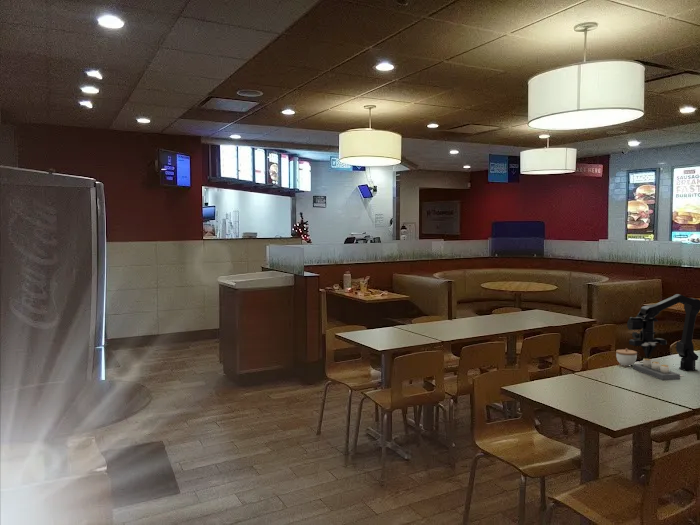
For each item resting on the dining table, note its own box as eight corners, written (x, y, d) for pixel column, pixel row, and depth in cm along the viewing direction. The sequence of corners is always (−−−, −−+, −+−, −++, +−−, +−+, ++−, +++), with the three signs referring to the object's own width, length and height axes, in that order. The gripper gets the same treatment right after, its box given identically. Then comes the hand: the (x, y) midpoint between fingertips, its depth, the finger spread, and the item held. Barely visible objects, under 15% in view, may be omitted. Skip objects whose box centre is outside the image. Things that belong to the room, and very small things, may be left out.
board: (649, 367, 311) (649, 363, 310) (679, 379, 287) (680, 374, 287) (632, 368, 309) (632, 364, 309) (662, 380, 286) (662, 375, 285)
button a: (648, 365, 307) (648, 358, 307) (652, 367, 303) (653, 360, 303) (641, 366, 307) (641, 358, 306) (646, 367, 303) (646, 360, 302)
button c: (665, 372, 293) (665, 364, 293) (670, 374, 289) (670, 366, 289) (658, 372, 293) (658, 364, 293) (663, 374, 289) (663, 366, 289)
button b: (656, 369, 300) (656, 361, 300) (661, 370, 296) (661, 363, 296) (649, 369, 300) (649, 361, 299) (654, 371, 296) (654, 363, 296)
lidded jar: (611, 363, 321) (611, 347, 321) (624, 361, 326) (624, 346, 325) (627, 367, 311) (628, 351, 311) (641, 365, 316) (641, 349, 315)
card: (664, 369, 307) (664, 368, 307) (683, 376, 292) (683, 375, 292) (655, 369, 306) (655, 369, 306) (674, 376, 291) (674, 376, 291)
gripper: (653, 326, 313) (653, 353, 314) (623, 327, 311) (622, 355, 311) (667, 329, 302) (667, 358, 303) (635, 331, 300) (635, 359, 300)
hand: (647, 357), depth 305 cm, fingers closed
